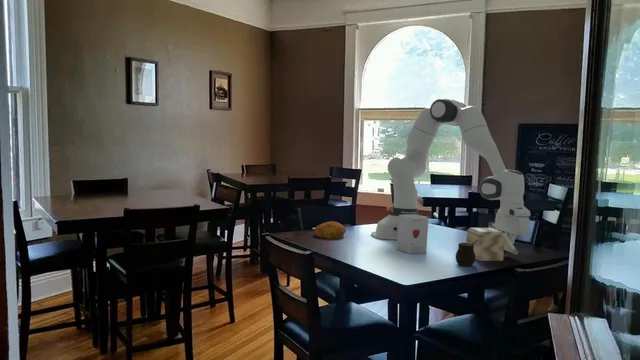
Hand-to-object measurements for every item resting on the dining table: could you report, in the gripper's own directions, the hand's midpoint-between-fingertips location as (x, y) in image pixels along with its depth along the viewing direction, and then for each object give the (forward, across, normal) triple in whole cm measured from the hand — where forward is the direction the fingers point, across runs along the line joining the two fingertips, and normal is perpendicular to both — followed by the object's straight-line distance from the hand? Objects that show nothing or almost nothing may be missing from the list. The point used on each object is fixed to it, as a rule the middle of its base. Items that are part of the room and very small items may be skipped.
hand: (510, 243), depth 204 cm
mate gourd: (+6, +12, -25) cm, 28 cm away
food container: (+6, -23, +6) cm, 24 cm away
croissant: (+4, -43, -67) cm, 79 cm away
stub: (0, -1, -2) cm, 3 cm away
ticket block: (+6, -1, -11) cm, 12 cm away
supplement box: (+5, -11, -38) cm, 40 cm away
